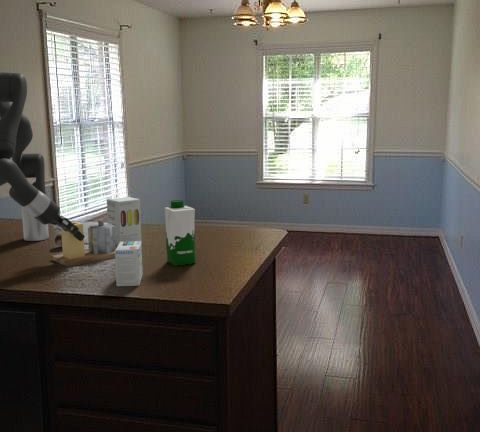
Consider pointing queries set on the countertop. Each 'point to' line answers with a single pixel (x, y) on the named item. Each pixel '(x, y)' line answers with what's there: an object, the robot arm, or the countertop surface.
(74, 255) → the yellow rectangular block
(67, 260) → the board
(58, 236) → the mushroom
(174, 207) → the milk carton
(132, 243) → the light bulb box
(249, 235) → the countertop surface
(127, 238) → the supplement box
